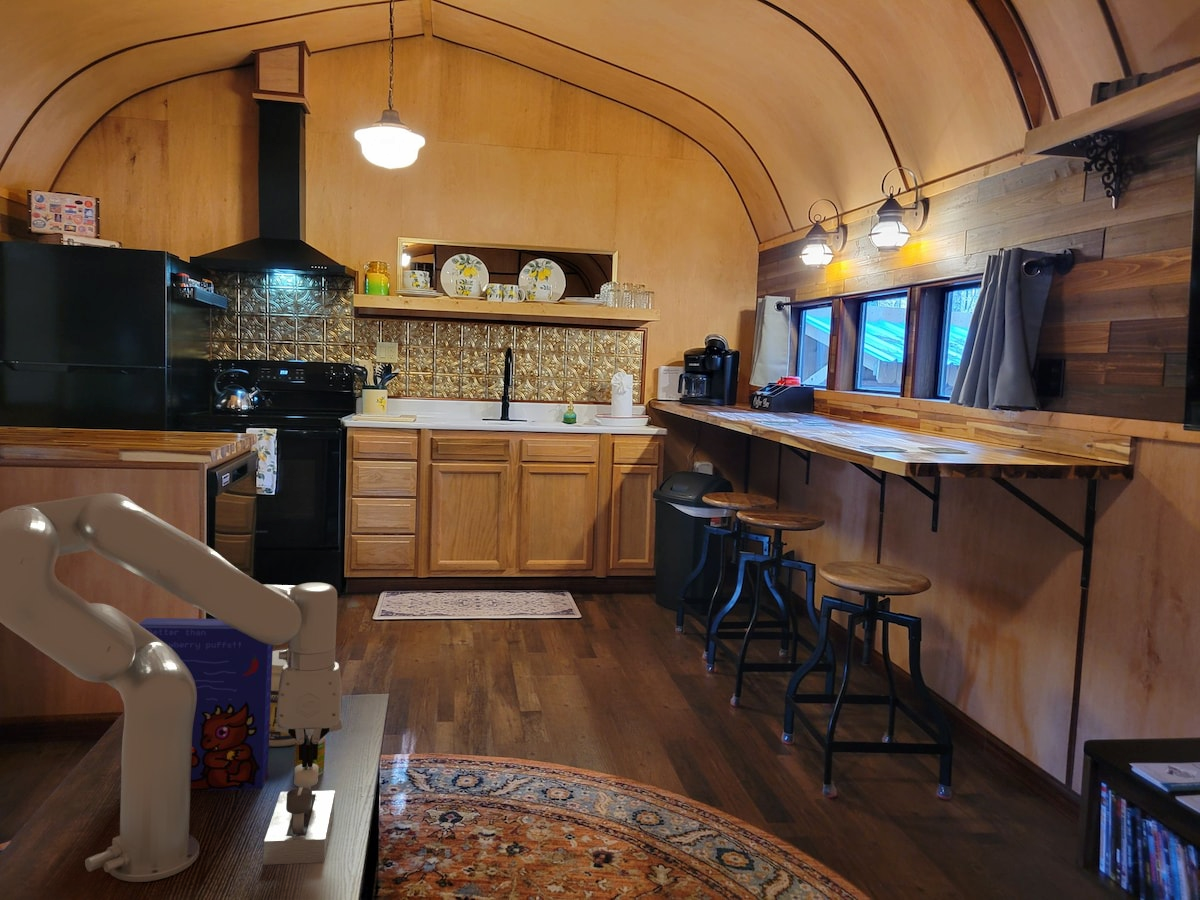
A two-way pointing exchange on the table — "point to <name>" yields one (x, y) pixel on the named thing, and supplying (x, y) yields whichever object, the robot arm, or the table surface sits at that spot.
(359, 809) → the table surface
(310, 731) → the supplement bottle
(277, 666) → the supplement tub
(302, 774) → the cream knob
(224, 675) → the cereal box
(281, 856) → the mount
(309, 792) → the charcoal knob
